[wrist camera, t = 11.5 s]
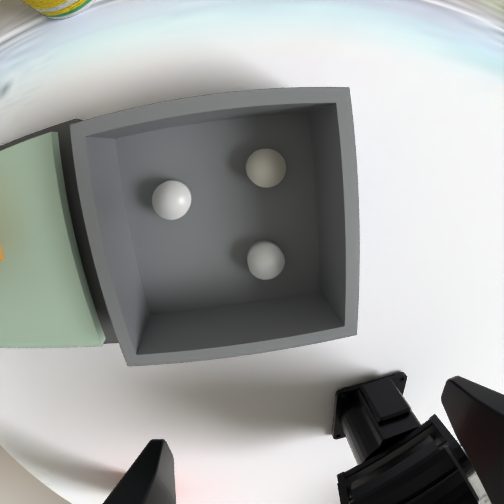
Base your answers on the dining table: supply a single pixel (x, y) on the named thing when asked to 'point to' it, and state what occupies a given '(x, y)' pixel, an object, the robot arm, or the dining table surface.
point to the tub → (224, 222)
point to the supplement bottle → (59, 7)
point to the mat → (78, 221)
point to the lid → (41, 254)
